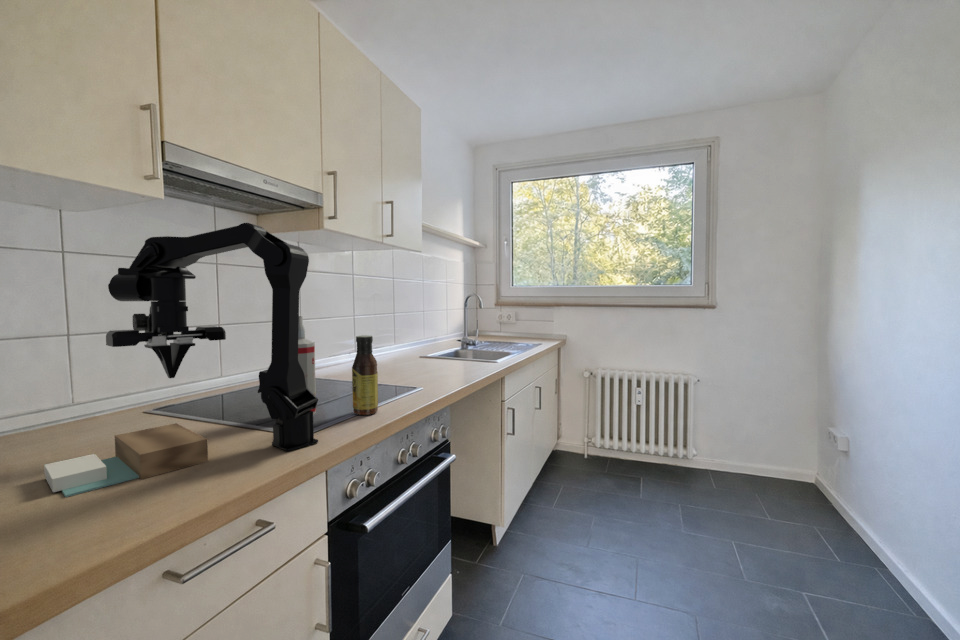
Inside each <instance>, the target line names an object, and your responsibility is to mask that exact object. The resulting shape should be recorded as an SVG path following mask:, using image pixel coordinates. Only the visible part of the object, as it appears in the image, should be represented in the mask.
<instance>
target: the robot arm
mask: <svg viewBox="0 0 960 640" xmlns="http://www.w3.org/2000/svg"><path fill="white" fill-rule="evenodd" d="M246 248H248V249H249V250H250V252H252V253H253V254H255V256H257V257H259V258H261V260H263V261H262V262H263V268H264V274H265V276H266V278H267V280H268V283H269V285H270V286H271V289H272V292H271V293H272V294H271V296H272V298H271V300H272V301H271V302H272V303H271V304H272V305H271V352H270V353H271V360H270V364H269V366H268V368H267V369H265V370H260V371H259V373H258V383H259V386H258V390H257V393H258V394H260V398H261V402H262V403H263V404H265V406H266V409H267V412H268V414H269V416H270V419H271V420H274V423H273V424H272V437H273V441H272V442H271V446H274V447H276V448H278V449H280V450H283V451H285V452H290V451H294V450H297V449H301V448H304V447H307V446H311V445H314V444H317V443H319V439H316V438H314V437H315V436H314V416H313V411H310V410H312V409H315V408H316V409H317V405H318V402H319V399H318V397H317V396H315V395H314V394H313V393H312V392H311V391H310V390H309V389H308V388H307V387H306V382H305V376H304V372H303V370H302V368H301V366H300V364H299V362H298V331H299V316H300V290H301V288H302V286H303V284H304V282H305V279H306V278H307V273H308V269H309V264H310V257H309V254H308V253H307V252H306V251H305V249H304V248H302V247H300V246H298V245H293V244H291V243H287V242H286V241H284V240H283V239H280V238H279V237H277V236H275V235H273V234H272V233H270V232H269V231H268V230H266V229H265V228H263V226H260V225H256V224H253V223H250V222H243V223H240V224H238V225H235V226H230V227H226V228H221V229H217V230H213V231H207V232H204V233H199V234H194V235H190V236H169V235H168V236H167V235H166V236H152V237H149V238H147V239H145V240H144V245H143V246H142V247H141V249H140V251H139V252H138V254H137V255H136V257H135V258H134V260H133V261H131V262H132V263H131V264H130V266H129V268H128V267H118V268H117V274H115V275H113V276H112V277H111V279H110V280H109V283H108V284H107V287H108V292H109V294H110V295H111V297H112V298H113V299H115V300H117V301H118V302H150V306H149V313H148V315H147V314H146V313H133V314H132V329H118V330H117V329H116V330H115V329H114V330H113V329H112V330H109V331H108V332H107V333H106V335H105V345H106V346H107V347H108V346H109V347H112V348H115V347H117V348H118V347H120V348H121V347H122V348H123V347H133V346H134V347H135V346H137V345H138V344H139V343H142V342H143V343H144V342H145V344H144V348H146V349H151V350H152V351H153V352H154V353H155V355H156V356H157V358H158V359H159V361H160V363H161V365H162V367H163V370H164V372H165V374H166V376H167V379H175V378H176V375H177V373H178V370H179V369H180V366H181V364H182V363H183V359H184V358H185V357H186V355H187V354H188V351H189V350H190V348H191V347H195V346H196V343H195V342H194V339H198V340H208V341H224V340H226V339H227V337H226V336H227V335H226V334H227V333H226V330H225V328H224V327H223V326H215V325H211V326H210V325H209V326H197V327H196V328H195V329H194V330H191V329H190V330H189V327H190V326H188V325H187V323H188V321H187V317H188V316H187V312H188V311H189V309H188V308H189V306H188V305H187V291H186V280H195V279H196V278H197V277H196V275H195V274H194V273H193V272H191V271H190V270H188V268H187V267H189V266H191V265H193V264H196V263H197V262H198V261H199V260H200V259H202V258H204V257H209V256H213V255H217V254H218V255H219V254H222V253H227V252H232V251H236V250H240V249H246ZM140 331H144V332H140ZM168 341H173V342H169V344H168V343H167V342H168Z"/></svg>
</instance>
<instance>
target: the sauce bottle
mask: <svg viewBox="0 0 960 640" xmlns="http://www.w3.org/2000/svg"><path fill="white" fill-rule="evenodd" d="M373 340H374V339H373V335H367V334H365V335H364V334H362V335H357V336H356V337H355V342H356V354H355V358H354V361H353V363H352V366H351V375H352V376H351V382H352V384H351V385H352V386H351V387H352V408H353V414H355V413H356V414H359V415H358V416H371V414H372V415H374V414H376V413H377V412H378V406H379V386H378V385H379V384H378V381H379V380H378V379H379V378H378V377H379V376H378V375H379V374H378V361H377V359H376V357H375V356H374V354H373ZM356 414H355V415H356Z"/></svg>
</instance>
